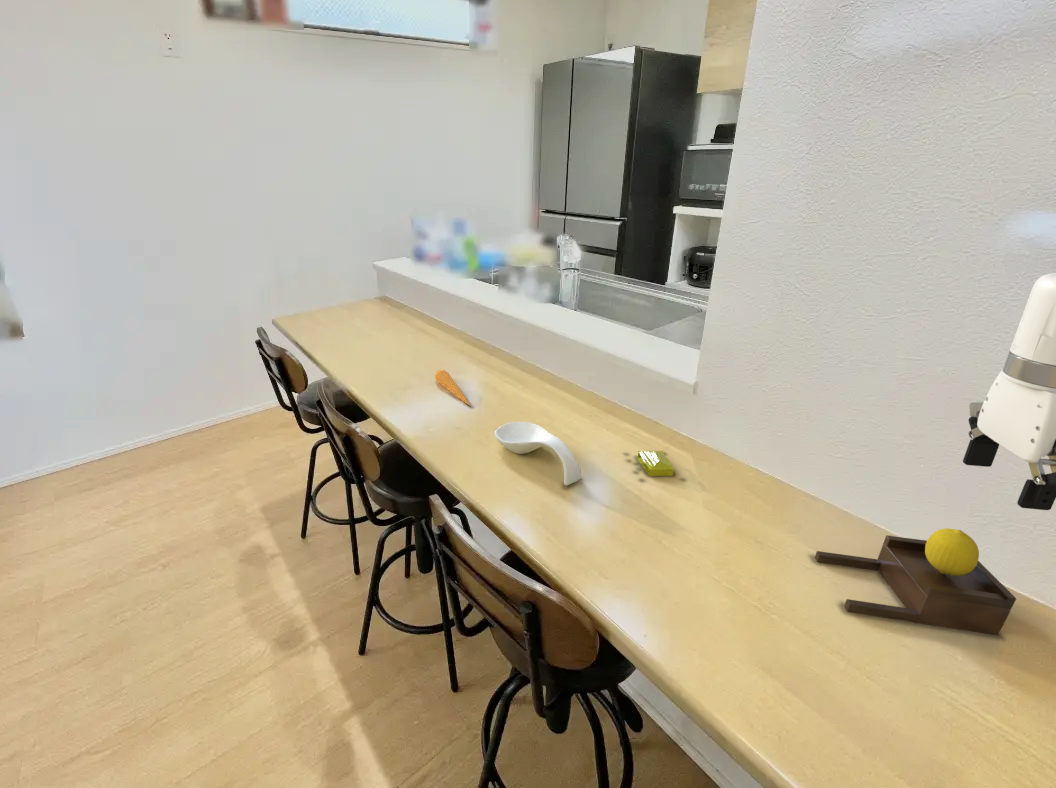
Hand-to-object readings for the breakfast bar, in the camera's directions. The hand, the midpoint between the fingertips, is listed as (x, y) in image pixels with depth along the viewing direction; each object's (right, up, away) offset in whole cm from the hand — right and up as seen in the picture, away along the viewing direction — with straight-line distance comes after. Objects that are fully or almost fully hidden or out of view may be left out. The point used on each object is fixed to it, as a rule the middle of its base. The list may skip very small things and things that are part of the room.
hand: (1002, 484), depth 68 cm
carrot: (-77, +4, +77) cm, 109 cm away
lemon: (-2, -16, +7) cm, 17 cm away
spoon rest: (-57, -7, +45) cm, 73 cm away
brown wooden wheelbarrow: (-6, -20, +9) cm, 23 cm away
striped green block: (-32, -8, +42) cm, 53 cm away
